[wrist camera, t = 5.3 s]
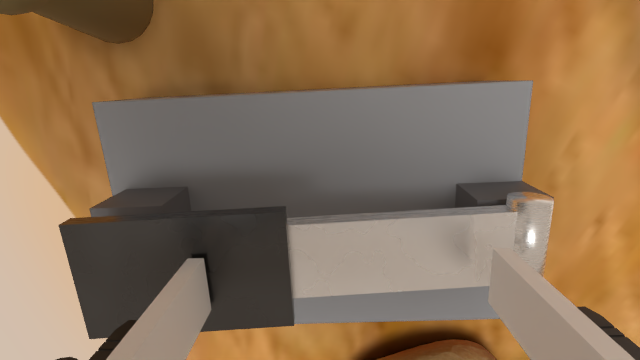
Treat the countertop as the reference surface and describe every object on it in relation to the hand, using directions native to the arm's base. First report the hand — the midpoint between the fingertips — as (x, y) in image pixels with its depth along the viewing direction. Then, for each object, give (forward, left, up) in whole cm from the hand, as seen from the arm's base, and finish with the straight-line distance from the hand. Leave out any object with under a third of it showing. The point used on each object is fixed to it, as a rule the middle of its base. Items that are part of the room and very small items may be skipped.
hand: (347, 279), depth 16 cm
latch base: (0, -2, -13) cm, 13 cm away
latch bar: (0, -1, -3) cm, 3 cm away
